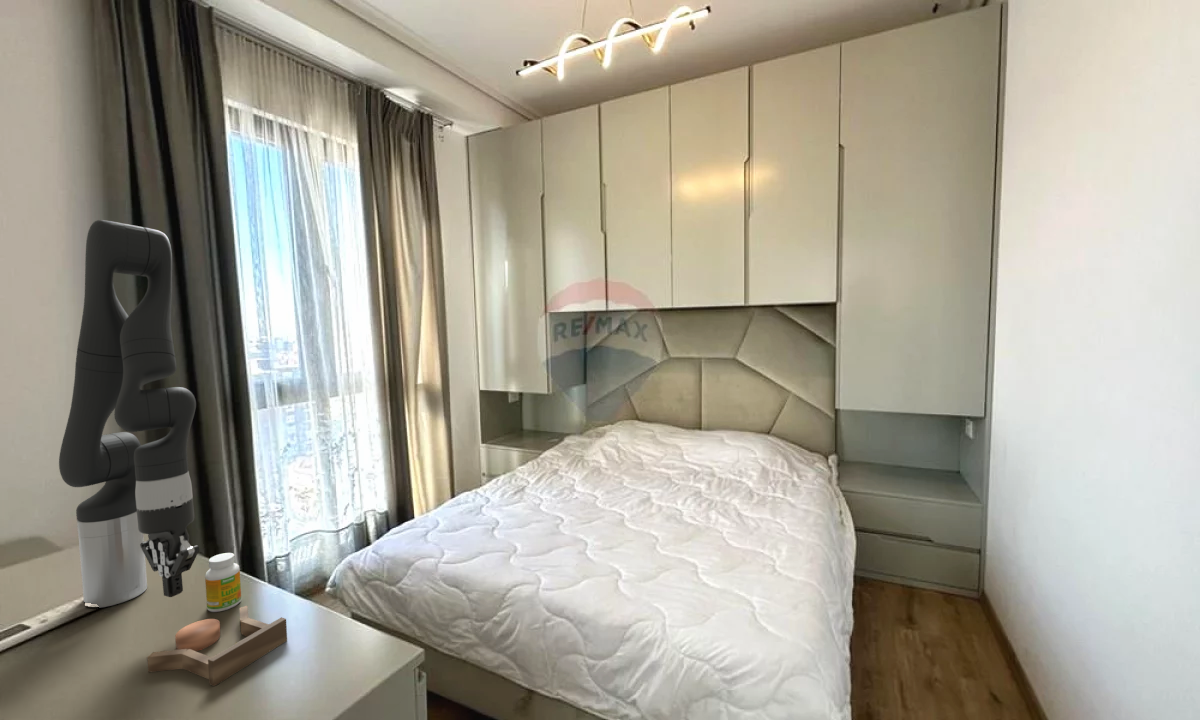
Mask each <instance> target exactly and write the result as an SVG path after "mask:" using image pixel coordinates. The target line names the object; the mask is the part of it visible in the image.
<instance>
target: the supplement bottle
mask: <svg viewBox="0 0 1200 720" xmlns="http://www.w3.org/2000/svg"><path fill="white" fill-rule="evenodd" d="M235 558H236V557H235V554H234V553H232V552H225V553H219V554H216V555H214V556H211V557H210V558H209V560H208V567H209V569H208V570H207V571H206V573H205V577H204V578H205V579H204V580H205V593H206V594H205V595H206V609H207V610H208V611H209V612H211V613H217V612H218V613H219V612H224V611H227V610H230V609H232V608H234V607H236V606H237V605H238V604H239V603H241V601H242V587H241V571H240V570H241V569H240V565H239V563H235V561H236V560H235Z"/></svg>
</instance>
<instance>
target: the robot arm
mask: <svg viewBox="0 0 1200 720" xmlns="http://www.w3.org/2000/svg"><path fill="white" fill-rule="evenodd" d="M84 261H85V263H84V266H85V267H84V268H85V269H84V271H85V272H84V299H83V307H82V308H83V309H82V318H81V323H80V331H79V337H78V340H77V347H76V358H75V366H74V367H75V370H74V381H73V383H74V384H73V390H72V398H71V403H70V410H69V414H68V417H67V418H68V419H67V422H66V426H65V430H64V434H63V437H62V442H61V446H60V451H59V458H58V468H59V469H58V470H59V473H60V474H59V475H60V476H61V478H62V480H63V482H64V483H65V484H66V485H68V486H70V487H72V488H84V487H90V486H93V485H99V484H102V483H104V485H103V486H102V487H101V488H100V489H99V490H98V491H97V492H95V494H93V495H91V496H89V497H88V498H86V499H85V500H83V501H82V502H80V503H79V504H78V506H77V507H76V511H75V513H76V524H77V534H78V536H77V537H78V547H79V559H80V573H81V583H82V585H81V587H82V596H83V603H84V602H85V603H91V604H97V605H98V606H99V608H101V609H102V608H106V607H110V606H115V605H117V604H122V603H124V602H127V601H129V600H132V599H134V598H136V597H138V596H141V594H143V593H144V592H145V591H146V590H147V588H148V580H147V564H146V562H148V564H149V566H150V567H151V568H150V569H152V571H153V572H154V573H155V572H158V575H159V577H161V580H162V589H163V590H162V592H163V596H164V597H168V598H173V597H175V596H178V595H180V594H181V593H183V592H184V586H183V577H182V573H185V572H187V571H189V570H190V569H191V568H192V566H193V564H194V562H195V560H196V559H197V556H198V554H199V552H200V546H199V545H197V544H196V545H194V546H192V545H191V544H190V541H189V540H190V534H189V533H188V530H187V528H188V526H189V525H190V524H192V523H193V522H194V520H195V510H194V509H195V508H194V497H193V485H192V480H191V477H190V471H189V460H188V441H189V436H190V431H191V430H190V429H191V426H192V423H193V419H194V417H195V412H196V408H197V401H196V398H195V395H194V394H193V392H192V391H191V390H189V389H187V388H186V387H182V386H181V387H180V386H174V387H165V388H164V387H163V388H162V387H161V388H152V389H151V388H150V389H142V387H143V386H144V385H147V384H148V383H152V382H155V381H159V380H163V379H165V378H169V377H172V375H173V376H174V374H176V371H177V360H176V352H175V347H174V340H173V333H172V321H171V320H172V319H171V318H172V296H173V295H172V294H173V293H172V292H173V253H172V245H171V243H170V240H169V238H168V236H167V235H166V234H165V233H164V232H162V231H160V230H158V229H154V228H149V227H144V226H138V225H133V224H128V223H122V222H119V221H118V222H117V221H111V220H106V219H105V220H104V219H97V220H94V221H93V222H92V223H91V225H90V227H89V229H88V232H87V235H86V243H85V260H84ZM114 274H124V275H132V276H140V277H146V278H147V289H146V292H145V293H144V296H143V297H142V299H141V300H140V302H138V304H137V305H136V307H135V308H134V309H133V310H132V311H131V312H130V314H129V315H128V313H127V312H126V310H125V309H124V307H123V306H122V304H121V302H120V300H119V299H118V297H117V293H116V290H115V286H114ZM113 411H114V421H115V422H116V424H117V425H118V426H119V428H121V429H123V430H124V431H121V432H119V431H118V432H112V433H107V434H103V433H104V430H105V426H106V424H107V422H108V419H109V418H110V416H111V414H112V413H113ZM166 428H170V431H169V432H168V433H167V434H166V436H163V437H162V438H160V439H157V440H153V441H150V442H147V443H144V444H141V442H140V440H139V438H138V437H137V436H136V435H134V434H133V432H145V431H152V430H158V429H166ZM145 534H146V535H147V537H148V540H146V541H145V539H144V538H145V537H144V535H145ZM146 560H147V561H146Z"/></svg>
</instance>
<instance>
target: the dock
mask: <svg viewBox="0 0 1200 720" xmlns="http://www.w3.org/2000/svg"><path fill="white" fill-rule="evenodd" d="M248 608H249V607H248V605H245V606H241V607H239V620H240V621H239V622H240V634H241V635H242V636H244V638H243V639H240V640H239V641H238V642H236V643H234V644H232V645H231V646H229V647H227V648H225V649H224V650H221V651H220V652H218V653H217V654H215V655H213V656H208V655H207V654H204V653H201V652H199V651H194V650H191V649H181V650H176V649H174V650H173V649H172V650H163V651H153V652H152V653H150V654H149V655H148V656H147V657H146V658H147V670H148V673H153V672H154V673H155V672H161V671H173V670H185V671H187V672H190V673H192V674H195V675H198V676H199V677H202V678H204V679H207V680H208V683H209V685H211V686H213V687H215V686H217V685H219V684H220V683H223V682H224V681H225V680H227V679H229V678H230V677H231V676H233V675H235V674H236V673H238V672H240V671H241V670H242V669H243V670H244V668H246V667H248V666H249V665H251V664H252V663H254V662H255V661H257V660H260V658H262V657H264V656H265V655H268V654H269V653H270V652H272V651H273V650H275V649H276V648H278V647H279V646H282V645H283V644H285V643H286V642H288V632H287V631H288V629H287V618H285V617H279V618H278V619H276V620H274V621H273V622H271V623H269V624H268V623H266V622H262V621H260V620H256V619H254V618H250V617H249V609H248Z"/></svg>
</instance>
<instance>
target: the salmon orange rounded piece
mask: <svg viewBox="0 0 1200 720" xmlns="http://www.w3.org/2000/svg"><path fill="white" fill-rule="evenodd" d="M220 623H221V622H220V620H218V619H217V618H216V619H215V618H207V619H201V620H197V621H195V622H191V623H190V624H187V625H185V626H183V627H182V628H180V629H179V630H178V631H177V632H176V633H175V636H174V637H175V638H174V639H175V650H181V649H191V650H194V651H196V652H199V651H202V650H204V649H207V648H209V647H211V646H212V645H214V644H215V643H216V642H217V641H219V640H220V638H221V624H220Z"/></svg>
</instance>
